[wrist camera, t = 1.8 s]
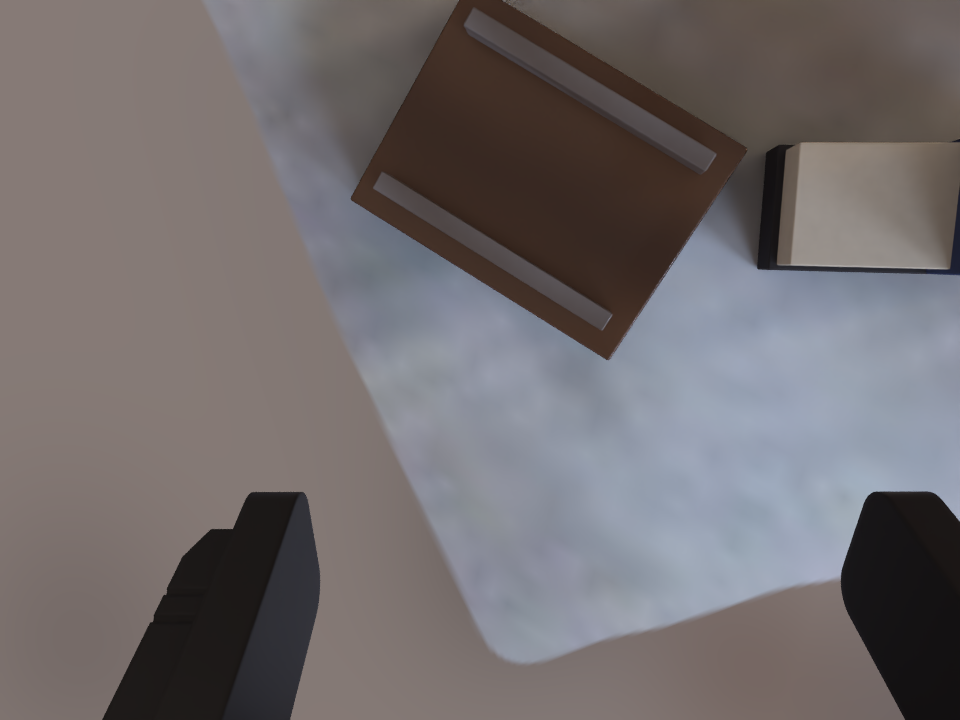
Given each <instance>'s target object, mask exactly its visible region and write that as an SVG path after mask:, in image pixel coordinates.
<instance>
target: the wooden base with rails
mask: <svg viewBox="0 0 960 720" xmlns="http://www.w3.org/2000/svg"><path fill="white" fill-rule="evenodd" d="M746 152H747V148H746V147H745V146H743V145H741V144H740V143H738V142H736V141H735V140H733V139H731V138H730V137H728V136H726V135H725V134H723V133H721V132H720V131H718V130H716V129H715V128H713V127H711V126H710V125H708V124H706V123H705V122H703V121H701V120H700V119H698V118H696V117H695V116H693V115H691V114H690V113H688V112H686V111H685V110H683V109H681V108H680V107H678V106H676V105H675V104H673V103H671V102H670V101H668V100H666V99H665V98H663V97H661V96H660V95H658V94H656V93H655V92H653V91H651V90H650V89H648V88H647V87H645V86H643V85H642V84H640V83H638V82H637V81H635V80H633V79H632V78H630V77H628V76H627V75H625V74H623V73H622V72H620V71H618V70H617V69H615V68H613V67H612V66H610V65H608V64H607V63H605V62H603V61H602V60H600V59H598V58H597V57H595V56H593V55H592V54H590V53H588V52H587V51H585V50H583V49H582V48H580V47H578V46H577V45H575V44H573V43H572V42H570V41H568V40H567V39H565V38H563V37H562V36H560V35H558V34H557V33H555V32H553V31H552V30H550V29H548V28H547V27H545V26H543V25H542V24H540V23H538V22H537V21H535V20H533V19H532V18H530V17H528V16H527V15H525V14H523V13H522V12H520V11H518V10H517V9H515V8H513V7H512V6H510V5H508V4H507V3H505V2H503V1H502V0H459V2H458V3H457V5H456V7H455V9H454V11H453V13H452V14H451V16H450V18H449V20H448V22H447V23H446V25H445V27H444V29H443V31H442V33H441V34H440V36H439V38H438V40H437V42H436V43H435V45H434V47H433V49H432V51H431V53H430V54H429V56H428V58H427V60H426V62H425V64H424V65H423V67H422V69H421V71H420V73H419V74H418V76H417V78H416V80H415V82H414V84H413V85H412V87H411V89H410V91H409V93H408V94H407V96H406V98H405V100H404V102H403V104H402V105H401V107H400V109H399V111H398V113H397V115H396V116H395V118H394V120H393V122H392V124H391V125H390V127H389V129H388V131H387V133H386V135H385V136H384V138H383V140H382V142H381V144H380V145H379V147H378V149H377V151H376V153H375V155H374V156H373V158H372V160H371V162H370V164H369V165H368V167H367V169H366V171H365V173H364V175H363V176H362V178H361V180H360V182H359V184H358V186H357V187H356V189H355V191H354V193H353V195H352V196H351V200H352V201H353V202H355V203H357V204H358V205H360V206H361V207H363V208H365V209H366V210H368V211H369V212H371V213H373V214H374V215H376V216H377V217H379V218H381V219H382V220H384V221H385V222H387V223H389V224H390V225H392V226H393V227H395V228H397V229H398V230H400V231H401V232H403V233H405V234H406V235H408V236H409V237H411V238H413V239H414V240H416V241H417V242H419V243H421V244H422V245H424V246H425V247H427V248H429V249H430V250H432V251H433V252H435V253H437V254H438V255H440V256H441V257H443V258H445V259H446V260H448V261H449V262H451V263H453V264H454V265H456V266H457V267H459V268H461V269H462V270H464V271H465V272H467V273H469V274H470V275H472V276H473V277H475V278H477V279H478V280H480V281H481V282H483V283H485V284H486V285H488V286H489V287H491V288H493V289H494V290H496V291H497V292H499V293H501V294H502V295H504V296H505V297H507V298H509V299H510V300H512V301H513V302H515V303H517V304H518V305H520V306H521V307H523V308H525V309H526V310H528V311H529V312H531V313H533V314H534V315H536V316H537V317H539V318H541V319H542V320H544V321H545V322H547V323H549V324H550V325H552V326H553V327H555V328H557V329H558V330H560V331H561V332H563V333H565V334H566V335H568V336H569V337H571V338H573V339H574V340H576V341H577V342H579V343H581V344H582V345H584V346H585V347H587V348H589V349H590V350H592V351H593V352H595V353H597V354H598V355H600V356H601V357H603V358H605V359H606V360H609V359H610V358H611V357H612V355H613V354H614V352H615V351H616V349H617V348H618V346H619V345H620V343H621V342H622V340H623V339H624V337H625V336H626V334H627V332H628V331H629V329H630V328H631V326H632V325H633V323H634V322H635V320H636V319H637V317H638V316H639V314H640V313H641V311H642V310H643V308H644V307H645V305H646V304H647V302H648V301H649V299H650V298H651V296H652V295H653V293H654V292H655V290H656V288H657V287H658V285H659V284H660V282H661V281H662V279H663V278H664V276H665V275H666V273H667V272H668V270H669V269H670V267H671V266H672V264H673V263H674V261H675V260H676V258H677V257H678V255H679V254H680V252H681V251H682V249H683V247H684V246H685V244H686V243H687V241H688V240H689V238H690V237H691V235H692V234H693V232H694V231H695V229H696V228H697V226H698V225H699V223H700V222H701V220H702V219H703V217H704V216H705V214H706V213H707V211H708V210H709V208H710V207H711V205H712V203H713V202H714V200H715V199H716V197H717V196H718V194H719V193H720V191H721V190H722V188H723V187H724V185H725V184H726V182H727V181H728V179H729V178H730V176H731V175H732V173H733V172H734V170H735V169H736V167H737V166H738V164H739V162H740V161H741V159H742V158H743V156H744V155H745V153H746Z"/></svg>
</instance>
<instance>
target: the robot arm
mask: <svg viewBox="0 0 960 720" xmlns="http://www.w3.org/2000/svg"><path fill="white" fill-rule="evenodd" d="M841 590H842V596H843V600H844V604H845V607H846V610H847V612H848V614H849V616H850V618H851V620H852V621H853V624H854V625H855V627H856V629H857V631H858V633H859V635H860V637H861V638H862V640H863V642H864V644H865V646H866V647H867V650H868V651H869V653H870V655H871V657H872V659H873V661H874V662H875V664H876V666H877V668H878V670H879V672H880V674H881V675H882V677H883V679H884V681H885V683H886V685H887V687H888V689H889V690H890V692H891V694H892V696H893V698H894V700H895V702H896V703H897V705H898V707H899V709H900V711H901V713H902V715H903V716H904V718H905V720H960V521H959V520H958V519H957V518H956V516H955V515H954V514H953V513H952V512H951V510H950V509H949V508H948V507H947V505H946V504H945V503H944V502H943V501H942V500H941V498H940V497H938V496H937V495H936V494H934V493H932V492H873V493H871V494H870V495H869V496H868V497H867V498H866V500H865V502H864V505H863V508H862V511H861V514H860V517H859V520H858V523H857V526H856V529H855V532H854V535H853V538H852V541H851V544H850V547H849V550H848V552H847V555H846V558H845V561H844V564H843V568H842V573H841ZM319 594H320V570H319V564H318V557H317V551H316V546H315V540H314V534H313V528H312V523H311V516H310V511H309V504H308V500H307V497H306V495H305V493H303V492H252V493H250V494H249V495H248V497H247V498H246V500H245V502H244V505H243V507H242V509H241V511H240V514H239V516H238V519H237V521H236V523H235V526H234V528H233V529H211V530H210V531H209V532H208V533H207V534H206V535H204V536H203V537H202V538H201V540H199V541H198V542H197V543H196V544H195V545H194V546H193V547H192V548H191V549H190V550H189V551H188V552H187V553H186V554H185V555H184V556H183V557H182V559H181V561H180V563H179V565H178V567H177V569H176V571H175V573H174V576H173V577H172V579H171V581H170V583H169V585H168V587H167V594H166V595H164V596H163V598H162V600H161V602H160V604H159V606H158V608H157V610H156V612H155V614H154V621H153V622H151V623H150V624H149V626H148V628H147V630H146V632H145V634H144V637H143V638H142V640H141V642H140V644H139V646H138V648H137V650H136V652H135V654H134V657H133V658H132V660H131V662H130V664H129V667H128V669H127V671H126V673H125V675H124V677H123V679H122V681H121V683H120V685H119V687H118V689H117V691H116V693H115V695H114V697H113V699H112V701H111V703H110V705H109V707H108V709H107V711H106V713H105V715H104V718H103V719H102V720H290V717H291V713H292V709H293V705H294V701H295V697H296V693H297V689H298V685H299V681H300V677H301V674H302V669H303V666H304V662H305V658H306V654H307V650H308V646H309V642H310V638H311V634H312V630H313V626H314V622H315V618H316V614H317V609H318V603H319Z"/></svg>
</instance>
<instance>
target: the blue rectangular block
mask: <svg viewBox="0 0 960 720" xmlns="http://www.w3.org/2000/svg"><path fill="white" fill-rule="evenodd" d="M757 268H758V269H762V270H795V271H834V272H873V273H911V274H943V275H960V139H959V140H956V141H953V142H800V143H798V144H797V145H778V146H776V147H775V148H773V149H771V150H770V151H768V152H767V153H766V162H765V175H764V188H763V201H762V214H761V227H760V240H759V253H758V265H757Z"/></svg>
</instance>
